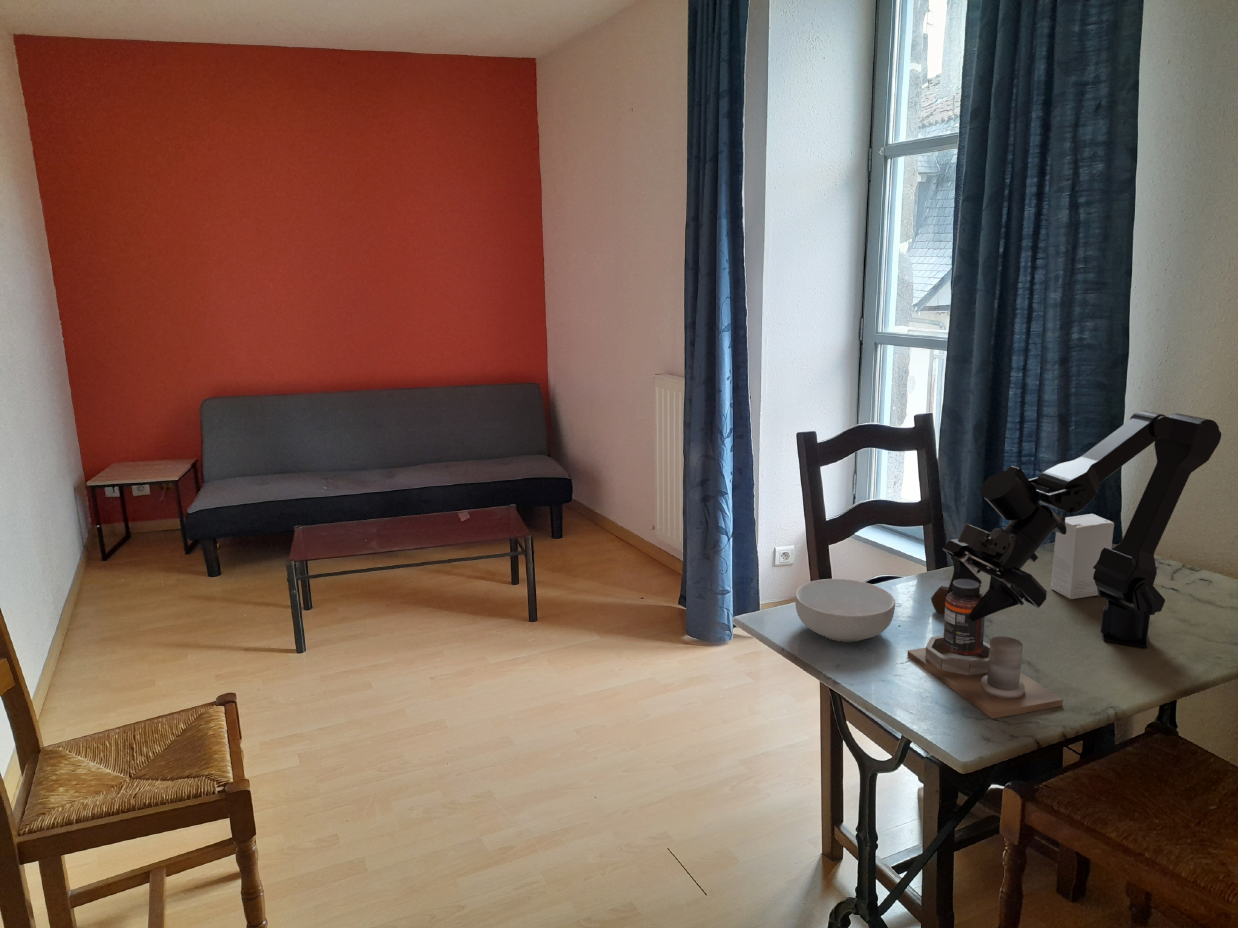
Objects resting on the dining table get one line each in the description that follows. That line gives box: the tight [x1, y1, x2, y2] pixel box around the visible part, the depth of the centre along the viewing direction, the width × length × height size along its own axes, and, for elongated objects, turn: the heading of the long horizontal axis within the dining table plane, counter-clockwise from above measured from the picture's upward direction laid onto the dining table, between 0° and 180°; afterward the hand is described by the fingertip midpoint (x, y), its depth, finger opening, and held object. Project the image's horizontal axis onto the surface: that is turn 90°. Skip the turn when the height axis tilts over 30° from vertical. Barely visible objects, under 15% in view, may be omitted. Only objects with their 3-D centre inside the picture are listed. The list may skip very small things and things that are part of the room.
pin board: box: [906, 634, 1064, 720], centre depth 135 cm, size 21×12×8 cm, turn 15°
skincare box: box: [1050, 513, 1115, 600], centre depth 167 cm, size 8×6×15 cm
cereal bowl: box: [794, 578, 896, 643], centre depth 153 cm, size 17×17×7 cm
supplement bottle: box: [943, 579, 986, 656], centre depth 139 cm, size 6×6×11 cm
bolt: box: [930, 581, 982, 616], centre depth 166 cm, size 6×5×15 cm
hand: (957, 611), depth 138 cm, fingers closed on supplement bottle, 6 cm apart
